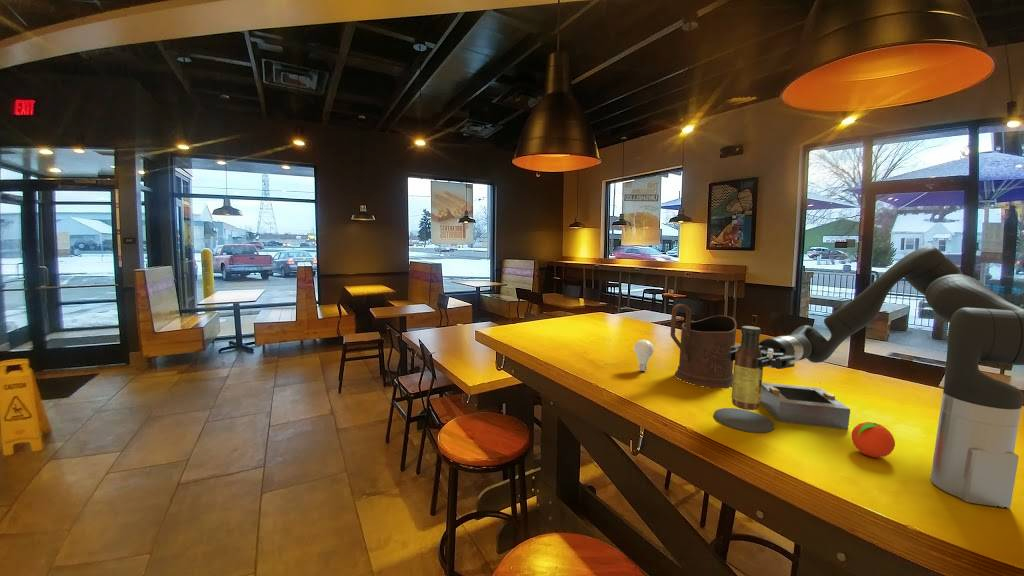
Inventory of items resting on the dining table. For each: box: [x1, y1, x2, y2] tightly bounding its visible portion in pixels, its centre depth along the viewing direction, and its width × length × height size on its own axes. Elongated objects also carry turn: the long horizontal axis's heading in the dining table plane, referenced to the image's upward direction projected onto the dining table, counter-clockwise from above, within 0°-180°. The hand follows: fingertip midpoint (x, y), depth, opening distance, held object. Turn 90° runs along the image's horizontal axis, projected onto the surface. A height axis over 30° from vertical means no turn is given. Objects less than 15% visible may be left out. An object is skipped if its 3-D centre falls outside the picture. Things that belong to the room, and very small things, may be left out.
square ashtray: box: [760, 382, 851, 430], centre depth 108 cm, size 15×15×6 cm
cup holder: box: [670, 303, 738, 389], centre depth 132 cm, size 18×24×25 cm
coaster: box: [713, 407, 775, 434], centre depth 102 cm, size 13×13×1 cm
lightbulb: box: [633, 339, 655, 372], centre depth 140 cm, size 6×6×11 cm
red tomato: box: [850, 421, 896, 458], centre depth 86 cm, size 8×7×7 cm
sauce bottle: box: [731, 325, 764, 411], centre depth 101 cm, size 7×6×20 cm
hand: (743, 360), depth 100 cm, fingers closed on sauce bottle, 6 cm apart
